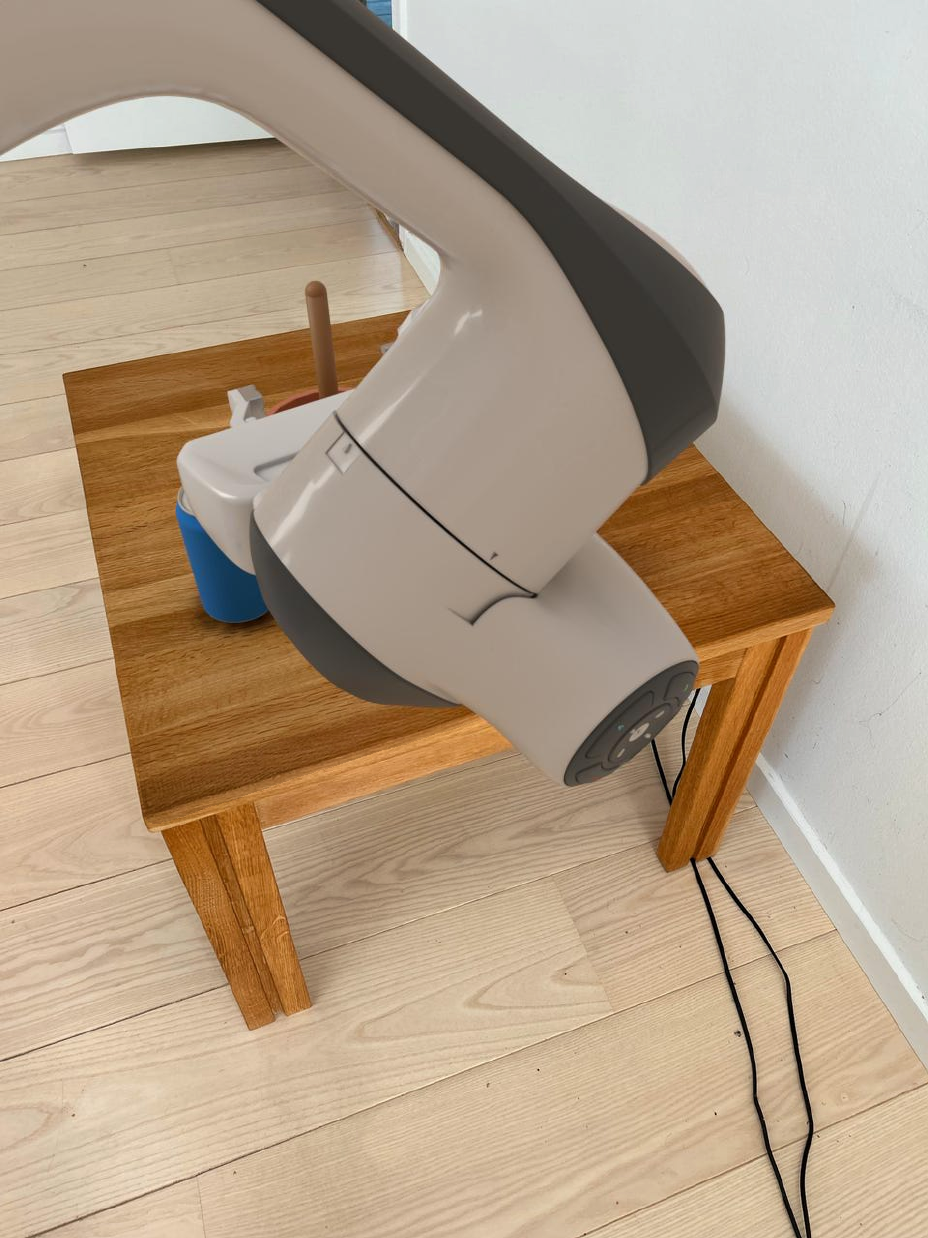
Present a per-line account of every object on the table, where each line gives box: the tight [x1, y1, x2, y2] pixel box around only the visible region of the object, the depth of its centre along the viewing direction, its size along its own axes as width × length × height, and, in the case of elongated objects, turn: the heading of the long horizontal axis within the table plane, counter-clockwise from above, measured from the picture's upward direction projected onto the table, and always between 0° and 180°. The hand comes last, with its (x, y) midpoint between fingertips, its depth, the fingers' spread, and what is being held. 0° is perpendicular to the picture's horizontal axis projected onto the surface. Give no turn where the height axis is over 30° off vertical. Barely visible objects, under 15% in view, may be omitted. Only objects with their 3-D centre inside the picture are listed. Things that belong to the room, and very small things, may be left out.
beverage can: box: [175, 485, 269, 624], centre depth 76 cm, size 6×6×12 cm
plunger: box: [304, 280, 339, 400], centre depth 84 cm, size 6×6×20 cm
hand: (318, 374), depth 53 cm, fingers open, 8 cm apart
